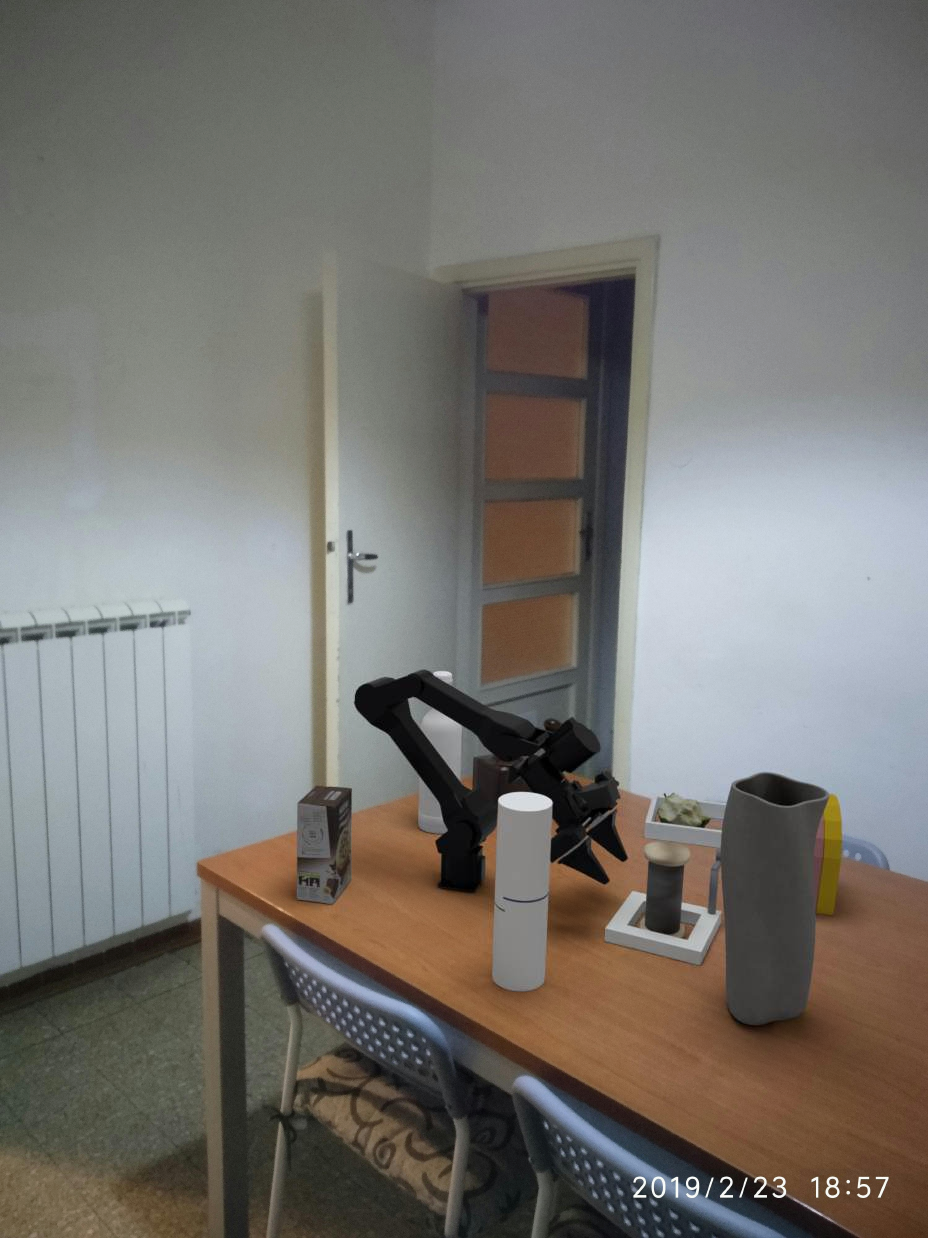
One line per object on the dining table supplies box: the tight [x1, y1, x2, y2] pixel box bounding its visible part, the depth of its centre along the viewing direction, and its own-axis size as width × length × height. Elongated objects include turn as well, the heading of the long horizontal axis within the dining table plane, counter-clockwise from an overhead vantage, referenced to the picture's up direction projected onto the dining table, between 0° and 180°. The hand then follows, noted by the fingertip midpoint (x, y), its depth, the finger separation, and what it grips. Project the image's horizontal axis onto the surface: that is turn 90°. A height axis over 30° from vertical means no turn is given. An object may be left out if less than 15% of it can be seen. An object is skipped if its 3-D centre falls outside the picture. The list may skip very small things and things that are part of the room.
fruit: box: [657, 792, 712, 828], centre depth 181 cm, size 9×9×8 cm
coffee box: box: [296, 785, 353, 905], centre depth 152 cm, size 9×6×16 cm
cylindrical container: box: [491, 792, 553, 992], centre depth 127 cm, size 7×7×25 cm
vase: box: [720, 771, 830, 1026], centre depth 120 cm, size 12×12×30 cm
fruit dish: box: [643, 794, 727, 849], centre depth 183 cm, size 16×16×3 cm
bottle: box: [417, 670, 463, 835], centre depth 178 cm, size 8×8×30 cm
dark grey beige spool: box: [639, 841, 691, 939], centre depth 141 cm, size 7×7×13 cm
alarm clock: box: [813, 793, 843, 916], centre depth 154 cm, size 15×8×18 cm, turn 168°
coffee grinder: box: [471, 717, 563, 816], centre depth 193 cm, size 16×11×18 cm
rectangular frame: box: [604, 848, 722, 966], centre depth 142 cm, size 14×16×11 cm
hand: (616, 871), depth 144 cm, fingers open, 9 cm apart
